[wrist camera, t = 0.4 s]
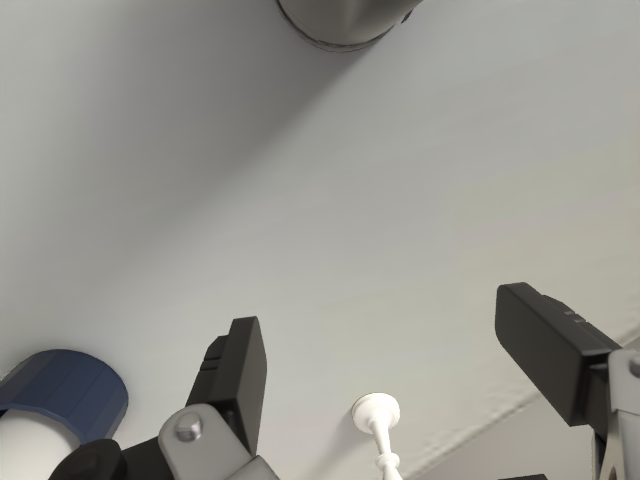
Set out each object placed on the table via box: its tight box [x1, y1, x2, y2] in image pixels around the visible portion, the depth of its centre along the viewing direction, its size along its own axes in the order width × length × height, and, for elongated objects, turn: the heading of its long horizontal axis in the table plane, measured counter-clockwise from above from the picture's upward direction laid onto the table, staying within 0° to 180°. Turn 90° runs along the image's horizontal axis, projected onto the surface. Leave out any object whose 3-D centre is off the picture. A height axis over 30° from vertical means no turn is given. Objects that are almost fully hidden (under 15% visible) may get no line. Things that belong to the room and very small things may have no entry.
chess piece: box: [352, 393, 403, 480], centre depth 32 cm, size 5×5×10 cm
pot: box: [0, 350, 128, 447], centre depth 31 cm, size 10×10×6 cm
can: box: [0, 409, 81, 480], centre depth 28 cm, size 6×6×12 cm
